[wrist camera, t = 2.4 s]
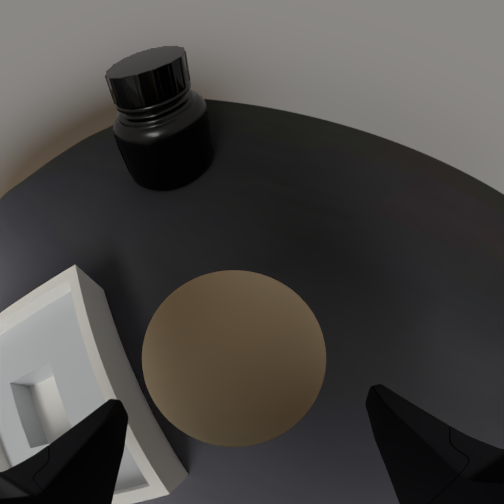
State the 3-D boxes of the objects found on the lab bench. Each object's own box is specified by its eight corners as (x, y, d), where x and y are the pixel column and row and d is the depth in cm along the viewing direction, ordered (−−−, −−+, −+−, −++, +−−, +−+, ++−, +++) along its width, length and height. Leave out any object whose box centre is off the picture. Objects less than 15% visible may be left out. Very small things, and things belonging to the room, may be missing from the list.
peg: (257, 421, 15) (260, 479, 4) (206, 389, 17) (110, 371, 5) (290, 372, 17) (356, 324, 6) (239, 342, 18) (209, 242, 7)
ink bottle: (172, 128, 30) (153, 41, 20) (232, 147, 28) (224, 42, 17) (114, 179, 26) (71, 86, 16) (172, 209, 24) (131, 92, 13)
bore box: (188, 474, 13) (169, 494, 9) (47, 503, 10) (16, 511, 6) (103, 289, 20) (75, 264, 16) (-5, 352, 16) (-36, 339, 12)
